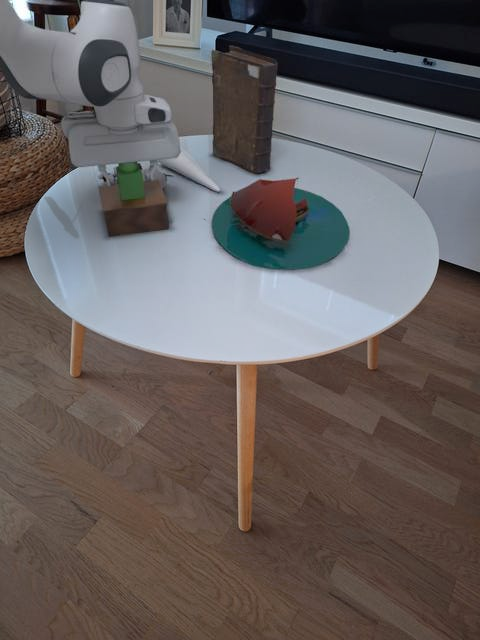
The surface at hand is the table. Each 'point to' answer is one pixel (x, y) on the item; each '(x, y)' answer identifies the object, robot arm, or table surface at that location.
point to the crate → (134, 210)
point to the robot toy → (156, 176)
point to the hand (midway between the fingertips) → (130, 182)
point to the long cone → (190, 170)
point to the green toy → (130, 181)
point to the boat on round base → (280, 226)
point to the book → (243, 107)
